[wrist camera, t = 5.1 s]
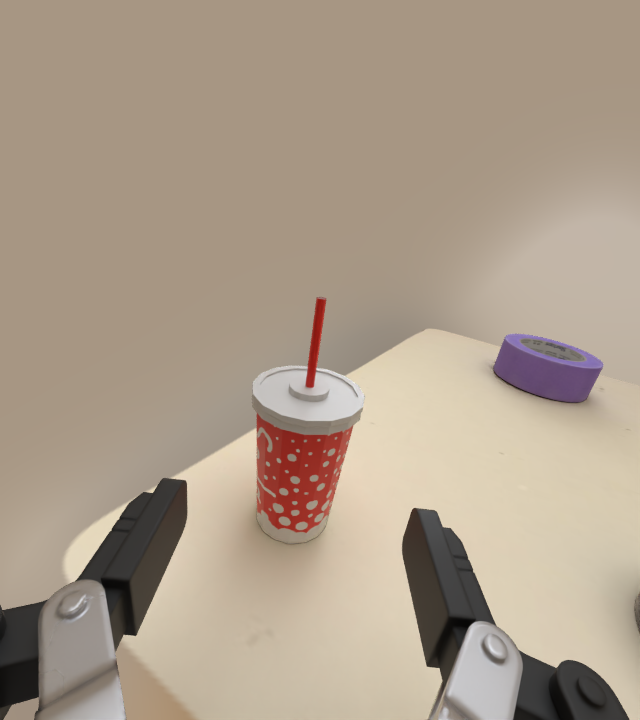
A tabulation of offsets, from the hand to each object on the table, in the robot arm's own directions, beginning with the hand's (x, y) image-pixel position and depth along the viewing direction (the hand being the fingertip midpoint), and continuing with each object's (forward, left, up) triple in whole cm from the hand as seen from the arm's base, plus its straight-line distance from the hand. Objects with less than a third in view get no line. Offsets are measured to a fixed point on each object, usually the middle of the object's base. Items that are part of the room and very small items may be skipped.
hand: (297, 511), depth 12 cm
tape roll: (+40, -26, -8) cm, 49 cm away
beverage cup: (+7, +1, -8) cm, 11 cm away
